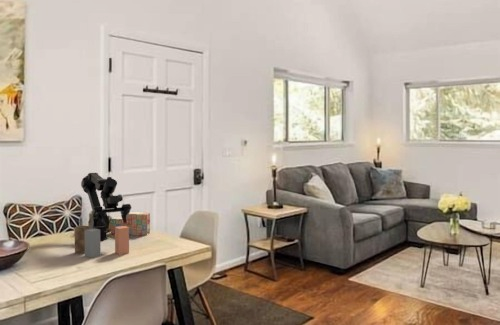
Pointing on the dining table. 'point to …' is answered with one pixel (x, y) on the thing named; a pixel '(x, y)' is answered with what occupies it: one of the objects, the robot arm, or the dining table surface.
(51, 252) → the dining table surface
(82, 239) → the walnut block
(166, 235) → the dining table surface
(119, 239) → the terracotta block
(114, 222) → the stack of blocks
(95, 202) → the robot arm
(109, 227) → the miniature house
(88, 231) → the slate grey block
